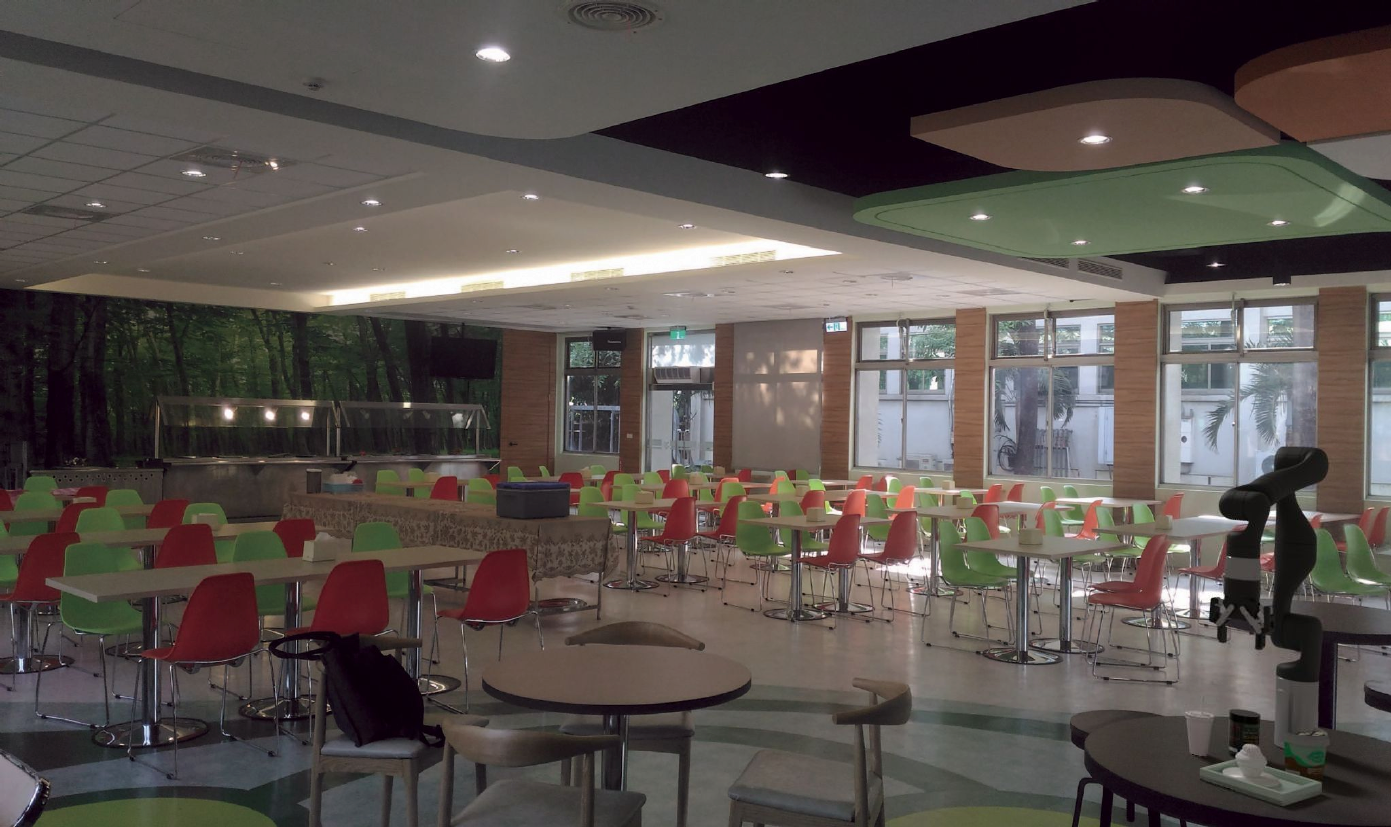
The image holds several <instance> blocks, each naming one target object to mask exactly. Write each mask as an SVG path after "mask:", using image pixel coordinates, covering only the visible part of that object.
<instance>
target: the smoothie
mask: <svg viewBox="0 0 1391 827" xmlns="http://www.w3.org/2000/svg"><path fill="white" fill-rule="evenodd" d="M1200 698H1201V699H1200V710H1186V711H1185V714H1184V717H1185V718H1186V728H1187V736H1188V745H1189V747H1188V748H1189V754H1190V753H1191V755H1192V754H1194V755H1193V756H1195V755H1199V756H1198V757H1201V756H1205V757H1207V756H1208V752H1209V746H1210V739H1211V734H1212V733H1211V732H1212V727H1213V722H1214V721H1215V715H1214V714H1212V713H1209V712H1206V711H1204V710H1205V709H1204V706H1205V703H1204V701H1205V700H1204V699H1205V696H1204V695H1201V697H1200Z"/></svg>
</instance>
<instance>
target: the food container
mask: <svg viewBox="0 0 1391 827" xmlns="http://www.w3.org/2000/svg"><path fill="white" fill-rule="evenodd" d="M1282 741H1284V748H1283V750H1284V771H1285V772H1288V773H1291V774H1295V775H1298V776H1302V777H1305V778H1308V779H1312V780H1315V781H1321V780H1322V779H1323V778H1324V770H1325V763H1326V754H1327V747H1329V746H1330V744H1331V741H1330V737H1329V735H1328V732H1326V731H1325V730H1323V729H1321V728H1319V727H1318V728H1315V727H1313V731H1311V732H1298V733H1295V734H1290V733H1286V732H1284V735H1283V739H1282Z"/></svg>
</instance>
